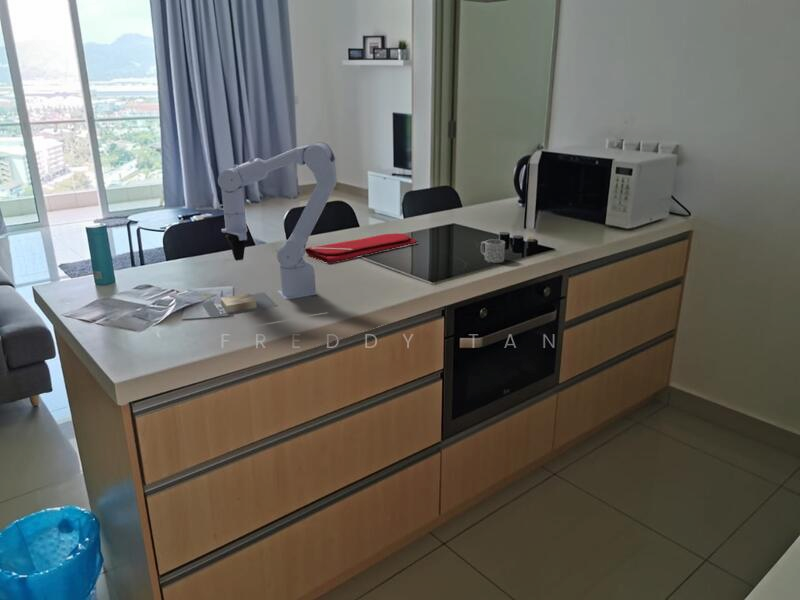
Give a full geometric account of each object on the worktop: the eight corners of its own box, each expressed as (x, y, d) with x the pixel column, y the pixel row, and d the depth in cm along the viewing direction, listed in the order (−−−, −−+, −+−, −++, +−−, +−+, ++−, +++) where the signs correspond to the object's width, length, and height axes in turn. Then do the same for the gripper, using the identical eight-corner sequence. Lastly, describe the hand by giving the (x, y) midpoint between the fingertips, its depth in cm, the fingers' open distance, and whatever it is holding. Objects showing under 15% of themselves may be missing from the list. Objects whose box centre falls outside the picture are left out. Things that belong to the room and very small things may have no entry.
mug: (508, 260, 206) (509, 242, 204) (494, 264, 203) (495, 245, 200) (487, 254, 214) (488, 236, 212) (473, 257, 210) (474, 239, 208)
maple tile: (249, 293, 168) (256, 300, 162) (249, 300, 169) (256, 307, 163) (220, 298, 164) (226, 305, 159) (221, 305, 165) (227, 312, 159)
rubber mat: (264, 293, 175) (264, 292, 175) (278, 307, 164) (277, 305, 164) (201, 304, 167) (201, 302, 167) (211, 319, 156) (211, 317, 156)
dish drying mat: (418, 245, 228) (418, 236, 227) (329, 266, 203) (328, 255, 202) (392, 238, 240) (392, 229, 238) (304, 256, 215) (303, 246, 213)
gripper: (214, 209, 171) (218, 255, 176) (226, 218, 159) (231, 267, 164) (238, 207, 174) (242, 252, 179) (252, 216, 162) (256, 264, 167)
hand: (239, 259), depth 171 cm, fingers closed
